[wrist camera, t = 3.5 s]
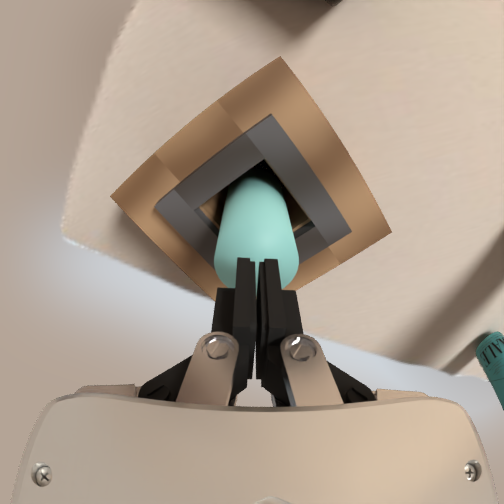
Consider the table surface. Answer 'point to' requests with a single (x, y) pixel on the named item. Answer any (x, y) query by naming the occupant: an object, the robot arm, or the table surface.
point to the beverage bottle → (493, 362)
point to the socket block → (241, 160)
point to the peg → (255, 228)
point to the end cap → (333, 2)
